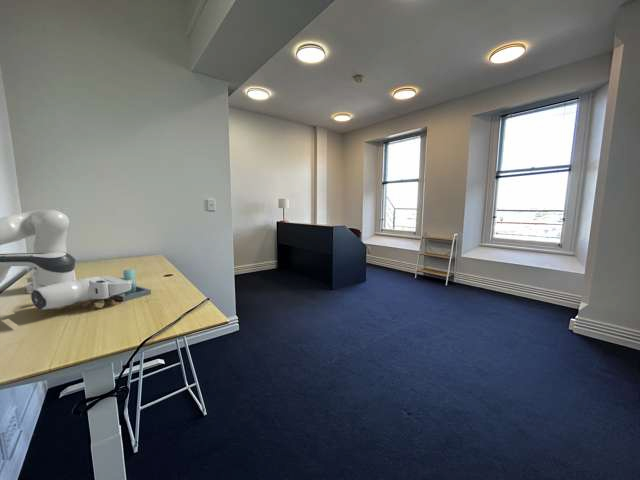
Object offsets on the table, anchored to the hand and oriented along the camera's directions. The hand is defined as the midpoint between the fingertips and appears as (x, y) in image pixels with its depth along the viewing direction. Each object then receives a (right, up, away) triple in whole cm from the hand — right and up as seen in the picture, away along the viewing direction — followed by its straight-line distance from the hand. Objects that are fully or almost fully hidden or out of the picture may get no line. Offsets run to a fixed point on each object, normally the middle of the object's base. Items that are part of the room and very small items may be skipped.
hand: (131, 279), depth 115 cm
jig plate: (-6, -9, -9) cm, 14 cm away
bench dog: (-2, -9, -14) cm, 17 cm away
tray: (-1, -8, 0) cm, 8 cm away
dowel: (-1, -7, 0) cm, 7 cm away
